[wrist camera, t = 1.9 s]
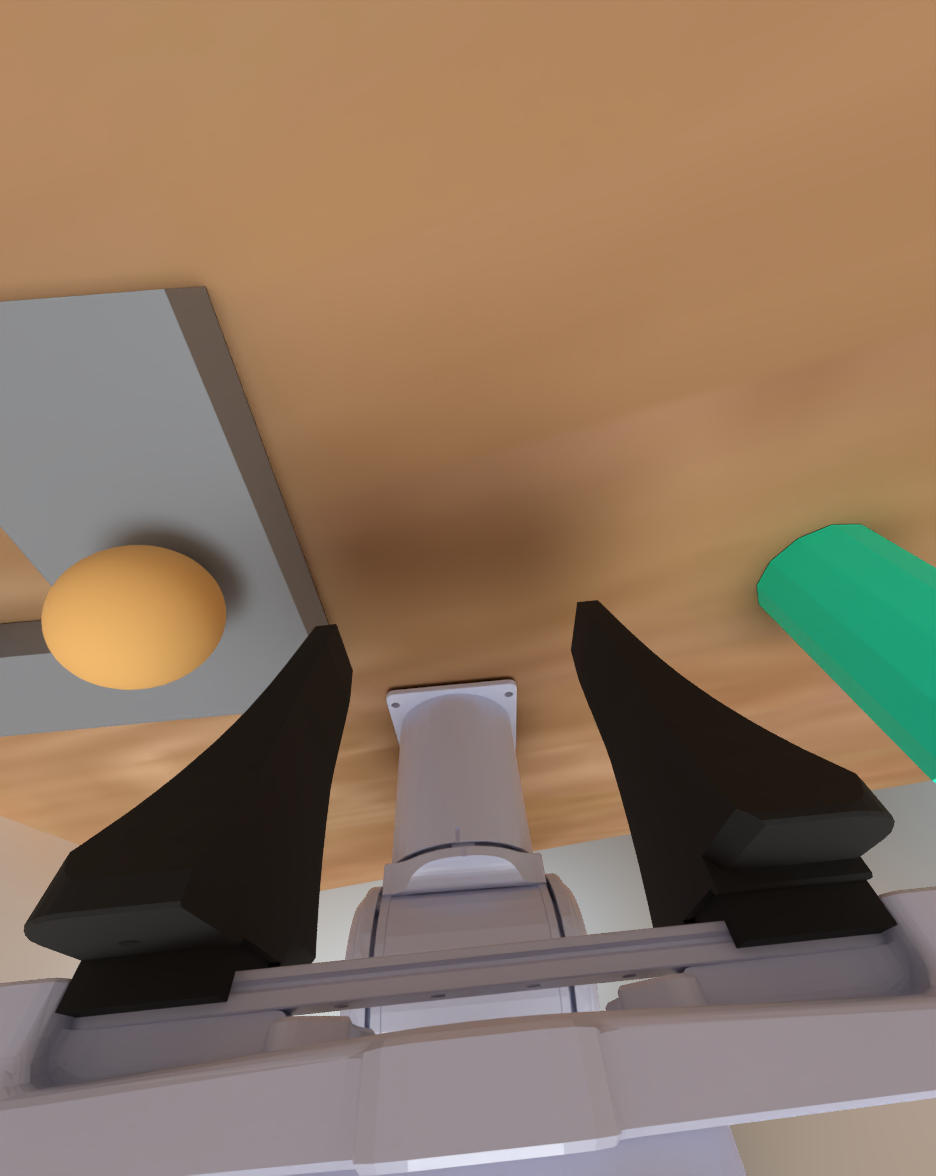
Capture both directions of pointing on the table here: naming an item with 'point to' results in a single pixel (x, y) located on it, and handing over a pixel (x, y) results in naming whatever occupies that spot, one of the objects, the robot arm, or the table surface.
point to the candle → (864, 626)
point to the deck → (141, 495)
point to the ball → (133, 617)
